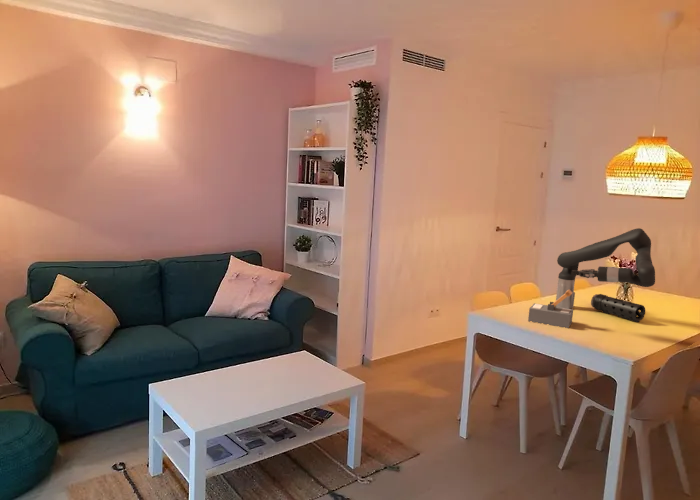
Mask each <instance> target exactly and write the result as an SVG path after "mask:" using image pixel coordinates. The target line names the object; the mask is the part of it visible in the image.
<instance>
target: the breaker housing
mask: <svg viewBox="0 0 700 500" xmlns="http://www.w3.org/2000/svg"><path fill="white" fill-rule="evenodd" d="M554 302H555V301H549V303H548V304H540V303H533V304H532V305H530V307H529V309H528V310H529V311H528V320H527V321H528V322H530V321H532V322H531V323H535V322H538V323H537V324H541V323H544V324H543V325H547V324H549V325H548V326H552V327H558V326H559V327H560V328H564V327H565V329H570V327H571V324H572V322H573V316H574V309H573V308H570V309H567V308H561V307H556V306H555V307H554V305H551V304H553V303H554ZM569 326H570V327H569ZM559 327H558V328H559Z"/></svg>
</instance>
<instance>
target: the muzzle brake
mask: <svg viewBox="0 0 700 500" xmlns="http://www.w3.org/2000/svg"><path fill="white" fill-rule="evenodd" d="M590 304H591V307H592V308H594V309H595V310H597V311H601V312H602V313H604V314H607V315H610V314H612V315H615V316H617V317H619V318H622V319H625V320H628V321H631V322H636V323H639V322H640V321H642V320H643V319H644V318H645V315H646V307H645V305H643V304H639V303H635V302H631V301H627V300H623V299H619V298H616V297H612V296H608V295H607V294H602V293H598V294H594V295H593V296H592V297H591V300H590Z"/></svg>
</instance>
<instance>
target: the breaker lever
mask: <svg viewBox="0 0 700 500" xmlns="http://www.w3.org/2000/svg"><path fill="white" fill-rule="evenodd" d="M572 293H573V292H572V291H571V290H570V289H569V290H568V291H566V293H565V294H564V295H563V296H561V297H560V298H559V299H558V300H556V299H555V301H553V302H554V303H553V304H551V305H554V307H555V306H556V305H557V304H559V303H560V302H561V301H562V300H564V299H565V298H566V297H567V296H568V297H569V296H570V295H571V294H572Z"/></svg>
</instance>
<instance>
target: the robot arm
mask: <svg viewBox="0 0 700 500" xmlns="http://www.w3.org/2000/svg"><path fill="white" fill-rule="evenodd" d="M626 243H628V244H629V245H630V246H631V247H632V248H633V249H634V250H635V252H636V256H635V258H634V259H635V266H636V269H637V275H636V274H634V271H633V269H632V268H628V267H617V266H598V268H597V270H595V268H594V269H593V268H590V269H580V270H579V267H580V266H579V265H580V263H583V262H590V261H597V260H601V259H603V258H605V259H606V258H608V257H610V256H611V255H612V254H613V253H614V252H615V251H616V250H617V248H618V247H619V246H621V245H624V244H626ZM651 250H652V240H651V238H650V237H649V235H648V234H647V233H646V232H645V230H644V229H642V228H640V227H638V228H634V229H631V230H628V231H626V232H623V233H621V234H619V235H617V236H613V237H610V238H607V239H603V240H601V241H597V242H595V243H592V244H589V245H586V246H584V247H581V248H579V249H576V250H571V251H567V252H561V253H560V254H559V255H558V257H557V259H556V261H557V264H558V265H559V266H560V268H561V267H562V270H561V271H560V272H559V273H558V275H557V276H558V277H557V286H556V287H557V288H556V295H555V296H556V297H555V301H556V300H558V299H559V298H560V297H561V296H563V295H564V294H565V293H566V291H568V290H569V289H570V290H571V291H572V292H573V293H572V294H571V295H570V296H569V297H568V296H567V297H566V298H565V299H564V300H562V301H561V302H560V303H559V304H557V305H556V307H561V308H567V309H573V308H574V305H575V297H576V296H575V295H576V292H574V291H575V283H576V276H579V277H580V278H587V279H594V278H597V281H598V282H600V283H601V282H602V283H604V282H606V283H628V284H632V285H636V286H639V287H642V288H649V287H653V286H654V285H655V284H656V269H655V266H654V264H653V260H652V255H651V254H652V253H651V252H652V251H651Z"/></svg>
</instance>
